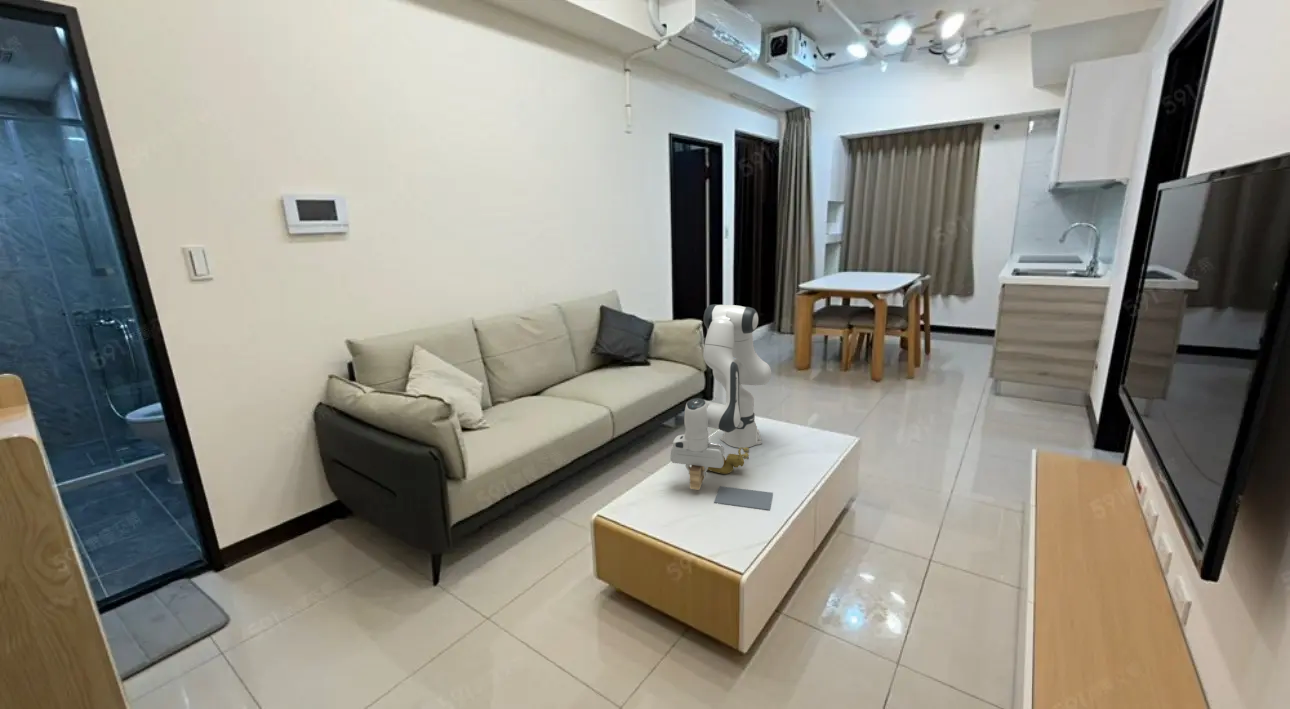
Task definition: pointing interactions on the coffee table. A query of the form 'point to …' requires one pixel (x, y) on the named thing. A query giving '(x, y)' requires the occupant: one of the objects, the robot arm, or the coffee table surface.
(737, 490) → the mat
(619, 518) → the coffee table surface
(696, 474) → the slab
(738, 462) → the toy
